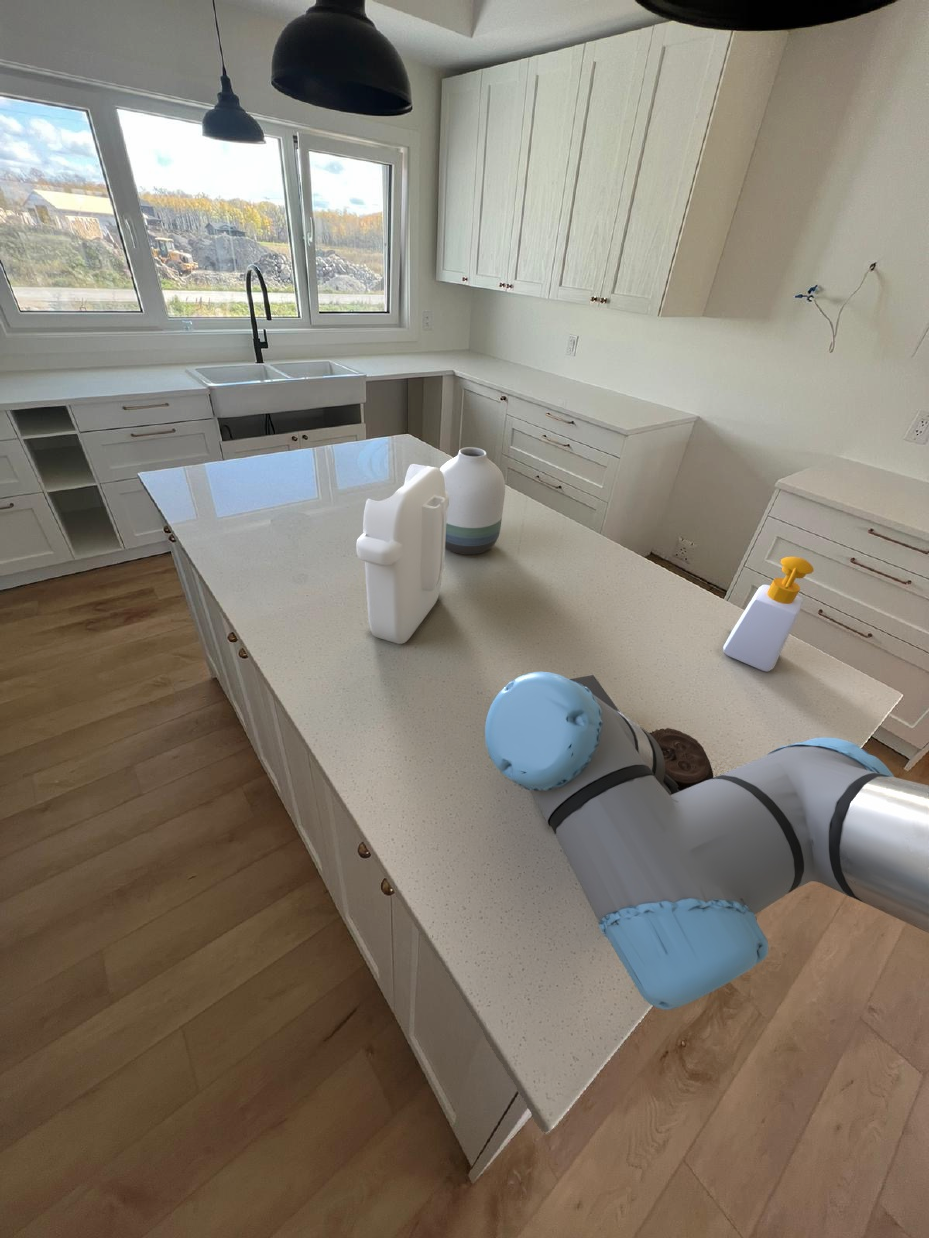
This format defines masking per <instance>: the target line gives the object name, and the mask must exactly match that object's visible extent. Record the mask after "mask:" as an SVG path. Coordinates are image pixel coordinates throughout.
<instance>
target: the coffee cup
mask: <svg viewBox="0 0 929 1238" xmlns="http://www.w3.org/2000/svg"><path fill="white" fill-rule="evenodd" d="M648 733H649V734H650V735H651V736H652V737H653V738H654V739H655V740H656V742H657V743H658V745H659V746H660V748H661V751H662V753H663V756H664V761H665V773H666V774H667V775H668V776H669V777H670V778H671V779H672V780H673V781H674V782H675V783H676V784H677V785H678V790H680V791H682V790H684V789H687V788H689V787H692V786H694V785H696V784H699V783H701V782H704V781H706V780H709V779H712V778H714V777H715V776H714V771H713V768H712V765H711V761H710V760H709V756H708V755H707V753H706V751H705V748H704V747H703V746H702V745H701V743H700V742H699V741H698V739H696V738H693V736H691V735H690V734H687V733H684V732H682V731H681V730H677V729H675V728H670V727H666V728H660V729H655V730H653V731H651V732H648Z"/></svg>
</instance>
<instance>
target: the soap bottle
mask: <svg viewBox="0 0 929 1238" xmlns="http://www.w3.org/2000/svg"><path fill="white" fill-rule="evenodd" d="M780 564H781V565H782V568H781V572H783V574H785V576H784V577H775V578H774V579H773V580H772V582H771V584H762V585H761V586H759V587H758V589H757V590H756V591H755V593H754V595H753V597H752V598H751V600H750V601H749V603H748V604H747V606H746V608H745V609H744V611H743V613H742V614H741V616H740V617H739V619H738V620H737V622H736V623H735V625H734V627H733V629H731V632H730V634H729V636H728V638H727V639H726V641H725V643H724V645H723V647H722V649H723V653H724V654H725V655H726V656H728V657H729V658H732V659H734V660H736V661H739V662H741V663H743V664H746V665H749V666H751V667H753V668H754V669H755V668H756V669H758V670H760V671H763V672H770V671H771V670H773V669H774V668H775V666H776V664H777V662H778V659H779V658H780V655H781V654H782V651H783V649H784V647H785V644H786V642H787V640H788V638H789V636H790V634H791V631H792V629H793V627H794V624H795V623H796V621H797V619H798V616H799V614H800V611H801V608H802V606H803V598H802V597H801V596H799V595H798V594H799V592H800V590H801V586H800V585H799V584H798V583H797V582H795V581H796V579H799V580H800V579H804V578H805V577H806V575H809V574H812V573H813V572H814V570H815V569H814V567H813V565H812V564H811V563H810V562H809V561H808V560H806V559H804V558H801V557H798V556H786V557H783V558H781V559H780Z"/></svg>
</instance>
